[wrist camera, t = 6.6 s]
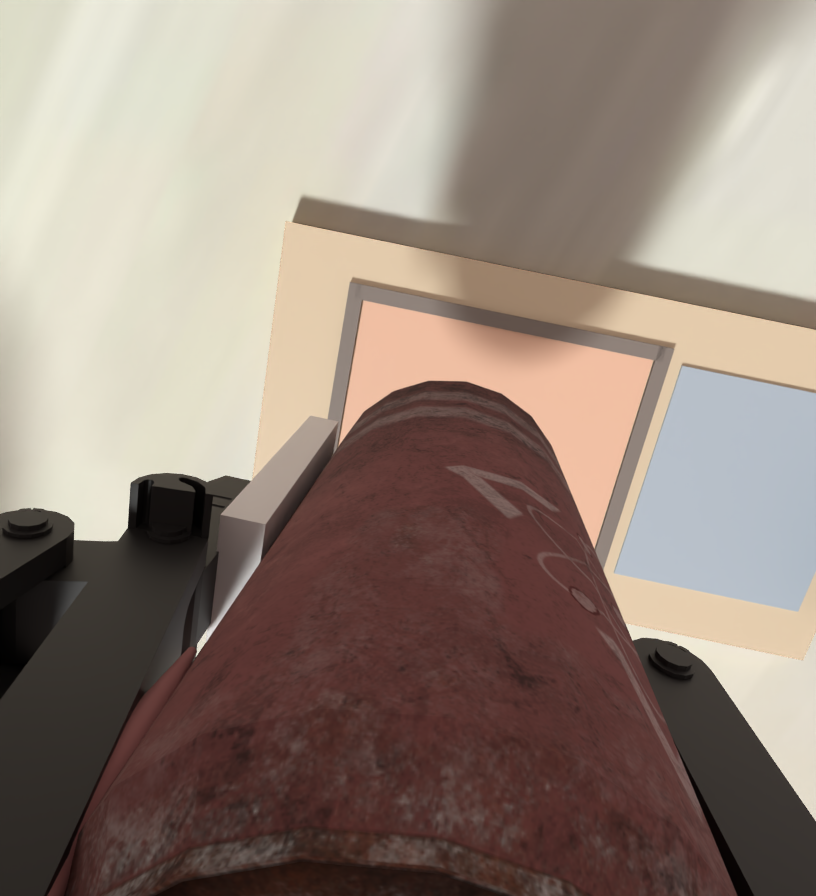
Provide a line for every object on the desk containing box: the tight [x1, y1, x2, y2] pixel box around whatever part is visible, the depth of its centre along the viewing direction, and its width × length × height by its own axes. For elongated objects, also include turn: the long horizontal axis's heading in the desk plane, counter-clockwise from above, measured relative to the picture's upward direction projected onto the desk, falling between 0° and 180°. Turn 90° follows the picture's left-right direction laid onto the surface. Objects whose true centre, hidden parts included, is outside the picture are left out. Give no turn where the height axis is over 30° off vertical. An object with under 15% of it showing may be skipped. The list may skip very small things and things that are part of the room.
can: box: [47, 381, 737, 896], centre depth 11 cm, size 6×6×14 cm
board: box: [252, 221, 816, 660], centre depth 23 cm, size 22×12×1 cm, turn 79°
